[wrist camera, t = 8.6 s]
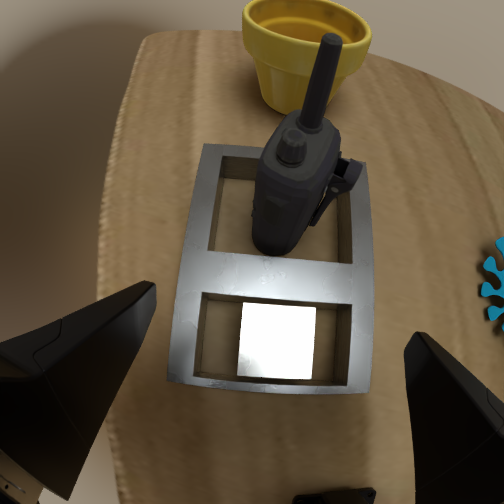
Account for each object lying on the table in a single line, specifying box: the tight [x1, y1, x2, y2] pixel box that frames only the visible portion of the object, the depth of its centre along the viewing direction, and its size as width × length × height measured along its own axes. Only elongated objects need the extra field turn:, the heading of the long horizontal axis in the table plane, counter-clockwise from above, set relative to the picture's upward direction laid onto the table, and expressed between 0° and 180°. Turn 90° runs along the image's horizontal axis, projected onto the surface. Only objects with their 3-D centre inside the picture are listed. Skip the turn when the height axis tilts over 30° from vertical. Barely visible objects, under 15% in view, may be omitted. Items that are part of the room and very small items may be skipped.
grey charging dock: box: [167, 144, 374, 394], centre depth 19 cm, size 16×12×3 cm
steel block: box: [237, 303, 315, 379], centre depth 17 cm, size 4×4×4 cm
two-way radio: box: [251, 33, 363, 256], centre depth 14 cm, size 6×4×15 cm
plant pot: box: [242, 0, 372, 115], centre depth 21 cm, size 10×10×10 cm
